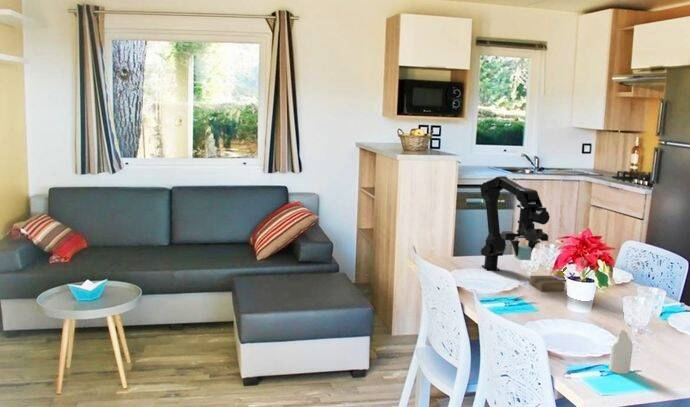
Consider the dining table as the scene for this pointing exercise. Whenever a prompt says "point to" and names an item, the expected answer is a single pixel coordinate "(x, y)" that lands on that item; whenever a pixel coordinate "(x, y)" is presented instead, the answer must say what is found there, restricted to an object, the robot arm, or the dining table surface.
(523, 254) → the teal cube
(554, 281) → the walnut block
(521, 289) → the dining table surface
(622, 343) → the beige bottle
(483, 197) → the robot arm
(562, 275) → the supplement bottle
